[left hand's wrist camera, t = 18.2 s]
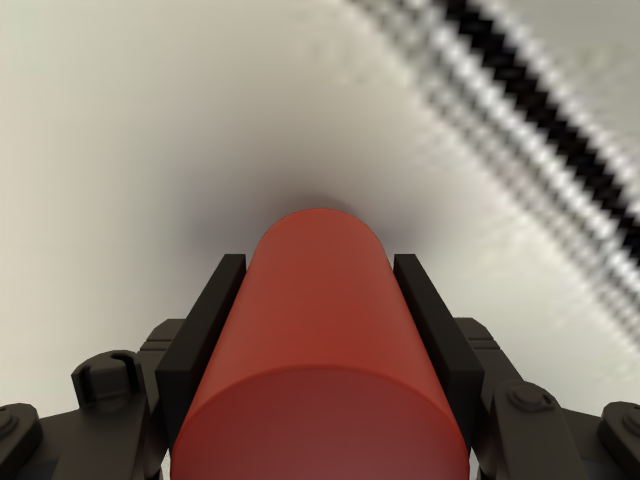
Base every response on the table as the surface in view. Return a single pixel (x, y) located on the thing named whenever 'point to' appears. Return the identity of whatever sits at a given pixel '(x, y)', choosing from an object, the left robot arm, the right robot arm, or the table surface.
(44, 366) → the table surface
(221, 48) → the table surface
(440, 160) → the table surface
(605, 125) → the table surface
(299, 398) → the canister
